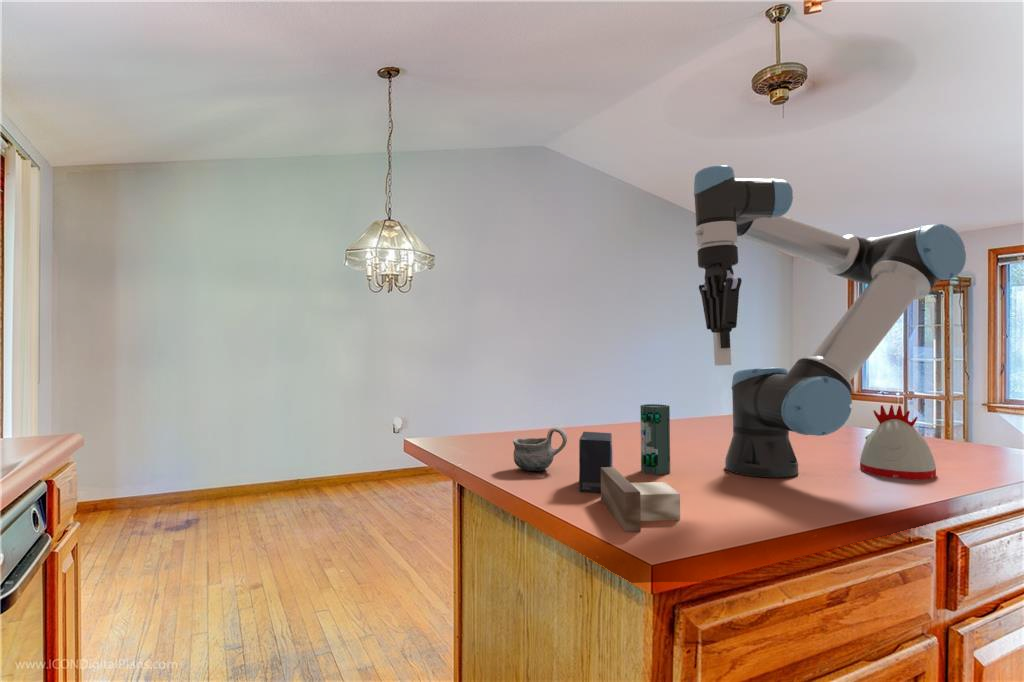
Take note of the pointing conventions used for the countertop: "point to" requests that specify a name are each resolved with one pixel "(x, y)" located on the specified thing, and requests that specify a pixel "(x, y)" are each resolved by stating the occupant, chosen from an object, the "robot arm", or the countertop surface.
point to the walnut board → (621, 499)
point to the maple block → (658, 501)
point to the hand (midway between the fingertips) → (723, 364)
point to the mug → (537, 451)
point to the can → (655, 439)
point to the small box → (593, 459)
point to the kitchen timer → (897, 449)
